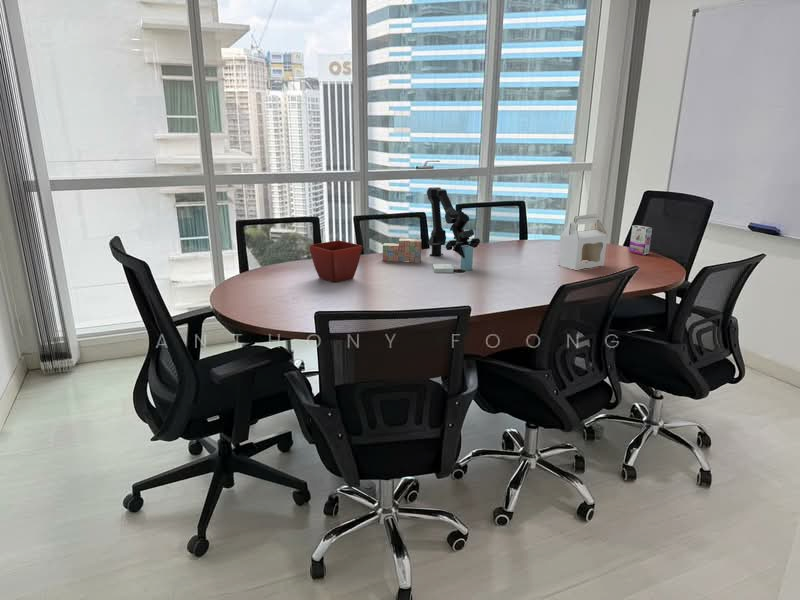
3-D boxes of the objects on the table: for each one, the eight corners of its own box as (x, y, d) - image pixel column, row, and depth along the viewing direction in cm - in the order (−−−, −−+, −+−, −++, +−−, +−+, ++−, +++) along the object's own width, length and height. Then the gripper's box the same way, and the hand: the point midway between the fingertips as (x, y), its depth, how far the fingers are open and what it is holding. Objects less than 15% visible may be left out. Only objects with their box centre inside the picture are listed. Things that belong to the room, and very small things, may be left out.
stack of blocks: (382, 261, 322) (382, 240, 318) (383, 258, 328) (383, 237, 324) (420, 262, 319) (420, 241, 316) (421, 260, 325) (421, 238, 322)
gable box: (574, 271, 304) (580, 218, 296) (556, 265, 315) (561, 215, 307) (604, 266, 315) (610, 215, 306) (585, 261, 326) (591, 212, 317)
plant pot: (339, 271, 300) (338, 239, 295) (363, 278, 287) (363, 245, 282) (309, 277, 287) (308, 244, 282) (333, 285, 274) (332, 251, 269)
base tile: (432, 267, 309) (432, 263, 308) (451, 267, 309) (451, 263, 309) (434, 272, 299) (434, 268, 299) (453, 272, 300) (453, 268, 299)
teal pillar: (460, 268, 308) (461, 246, 304) (467, 267, 309) (468, 245, 306) (464, 270, 304) (465, 248, 300) (472, 269, 306) (473, 247, 302)
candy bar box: (649, 254, 342) (653, 227, 337) (643, 255, 340) (647, 228, 335) (634, 251, 352) (637, 224, 347) (628, 251, 349) (631, 225, 344)
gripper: (449, 225, 299) (458, 250, 293) (479, 223, 307) (489, 247, 300) (441, 237, 309) (450, 261, 302) (471, 234, 316) (480, 258, 310)
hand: (468, 257), depth 303 cm, fingers closed on teal pillar, 4 cm apart
